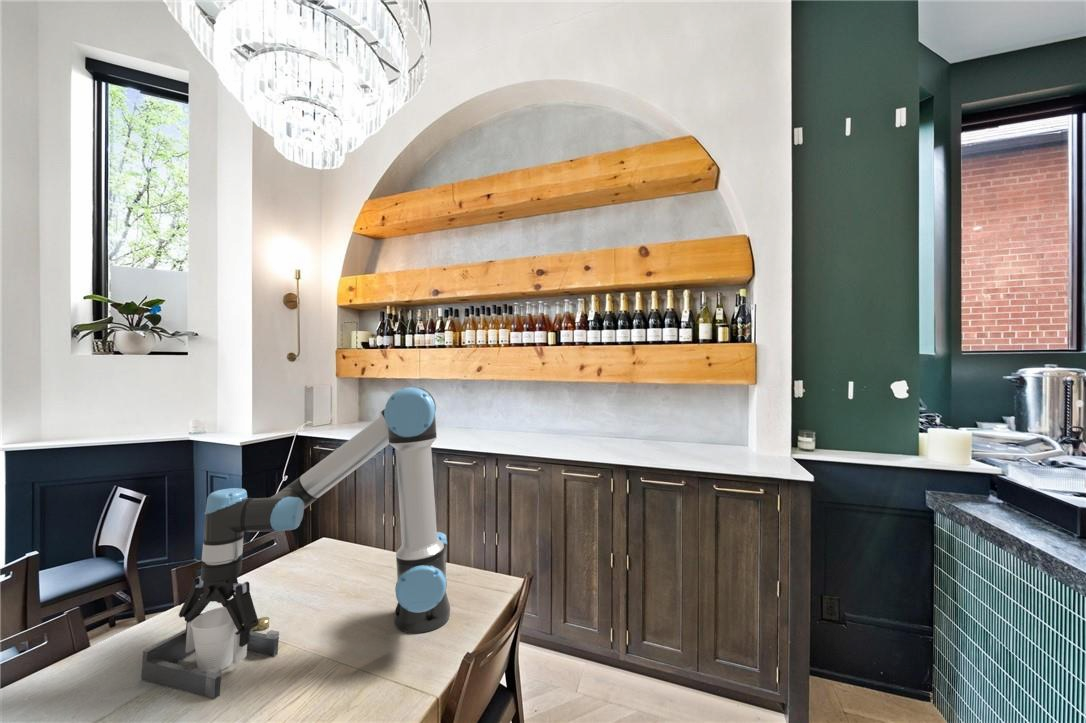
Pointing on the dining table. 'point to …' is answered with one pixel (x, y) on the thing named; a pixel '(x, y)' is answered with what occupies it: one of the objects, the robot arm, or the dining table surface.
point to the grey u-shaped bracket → (207, 684)
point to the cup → (214, 639)
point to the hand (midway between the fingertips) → (215, 654)
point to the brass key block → (261, 624)
